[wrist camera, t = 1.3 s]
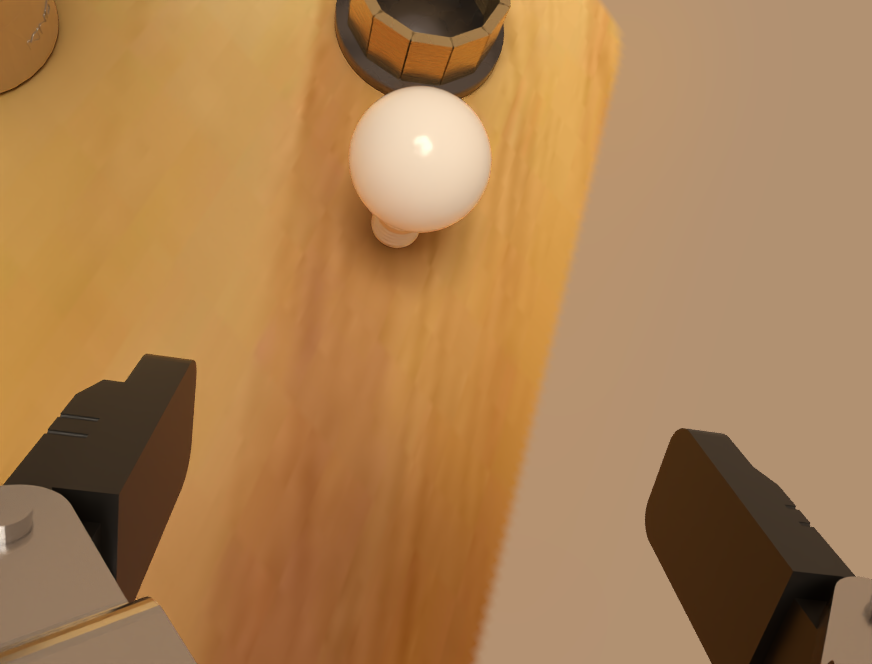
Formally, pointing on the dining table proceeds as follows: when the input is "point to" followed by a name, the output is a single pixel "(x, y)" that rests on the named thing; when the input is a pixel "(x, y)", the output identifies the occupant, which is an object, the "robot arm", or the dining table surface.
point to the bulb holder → (422, 42)
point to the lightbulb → (418, 162)
